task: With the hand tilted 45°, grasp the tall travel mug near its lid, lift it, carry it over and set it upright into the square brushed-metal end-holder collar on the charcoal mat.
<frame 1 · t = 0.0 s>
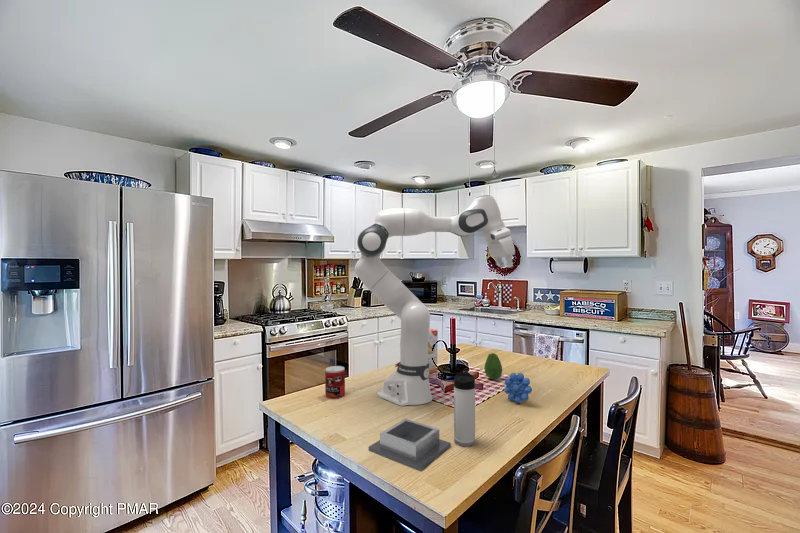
hand: (506, 267, 148), 52 cm above the kitchen island, tool tilted 20°, fingers open, 8 cm apart
travel mug: (464, 442, 111), on the kitchen island
canned food: (335, 395, 150), on the kitchen island
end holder: (410, 448, 107), on the kitchen island
grapes: (519, 403, 141), on the kitchen island
avocado: (493, 379, 170), on the kitchen island
cracker box: (423, 373, 179), on the kitchen island
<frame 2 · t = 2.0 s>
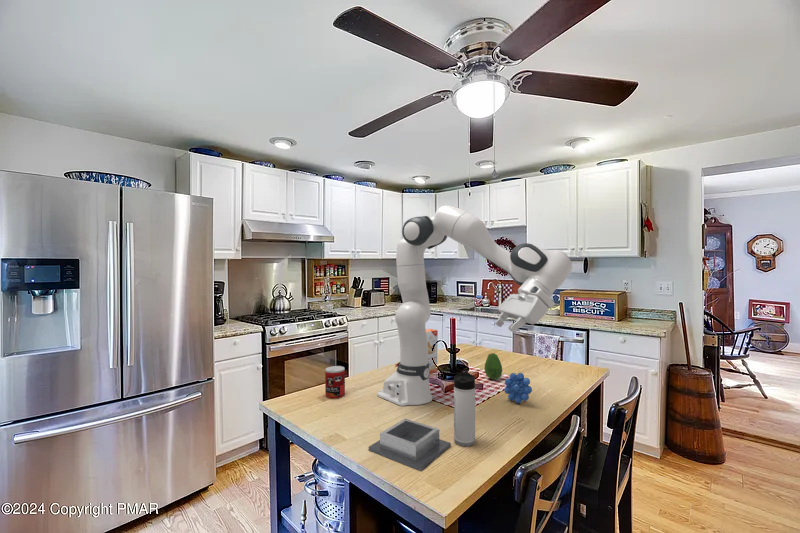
hand: (504, 327, 113), 34 cm above the kitchen island, tool tilted 45°, fingers open, 8 cm apart
nothing on the kitchen island moved.
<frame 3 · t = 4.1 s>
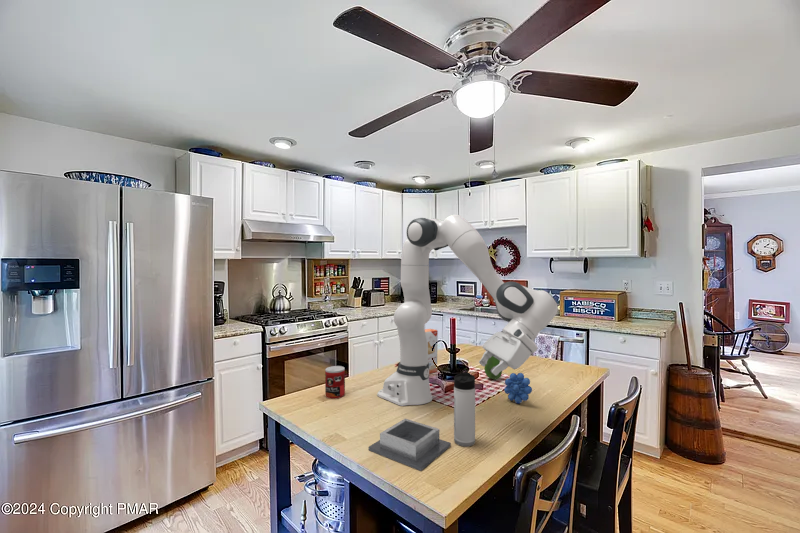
hand: (486, 368, 112), 22 cm above the kitchen island, tool tilted 45°, fingers open, 8 cm apart
nothing on the kitchen island moved.
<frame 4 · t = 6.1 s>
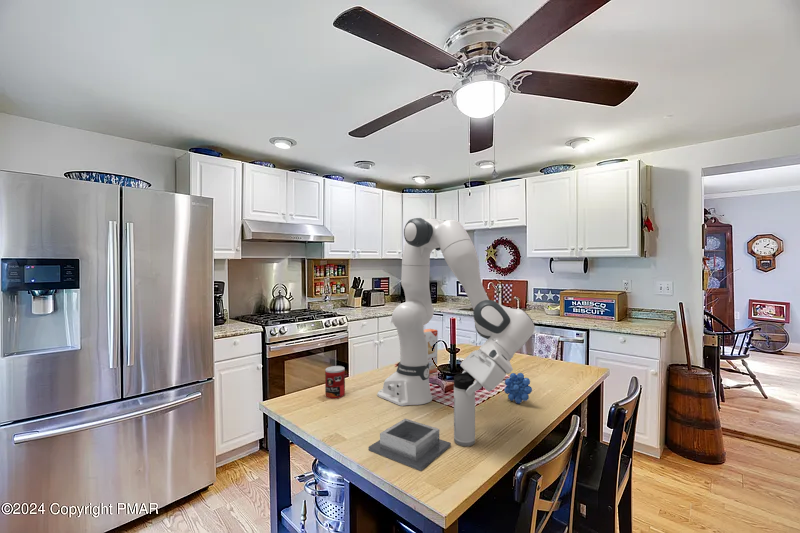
hand: (462, 389, 111), 16 cm above the kitchen island, tool tilted 45°, fingers closed on travel mug, 6 cm apart
travel mug: (464, 442, 111), on the kitchen island, touching gripper
everything else where it was.
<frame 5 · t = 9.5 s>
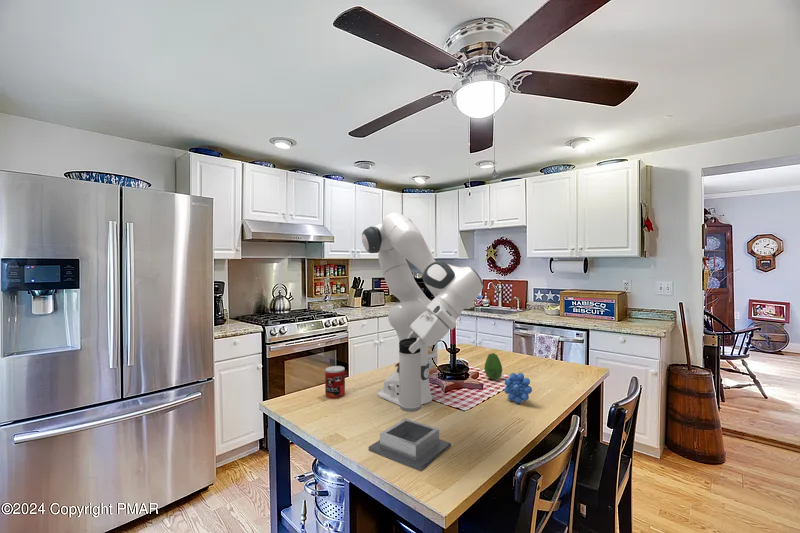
hand: (407, 348, 107), 29 cm above the kitchen island, tool tilted 45°, fingers closed on travel mug, 6 cm apart
travel mug: (410, 408, 108), point 11 cm above the kitchen island, touching gripper
everything else where it was.
when the fingers open (18 cm above the kitchen island, at t = 12.6 s): travel mug stays where it is, resting on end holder.
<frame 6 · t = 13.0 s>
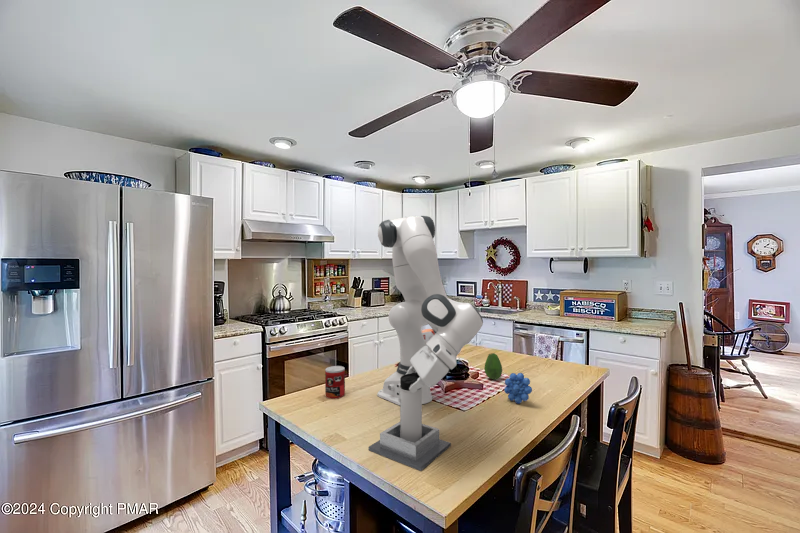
hand: (407, 385, 107), 18 cm above the kitchen island, tool tilted 45°, fingers open, 8 cm apart
travel mug: (411, 444, 108), point 1 cm above the kitchen island, touching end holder
everything else where it was.
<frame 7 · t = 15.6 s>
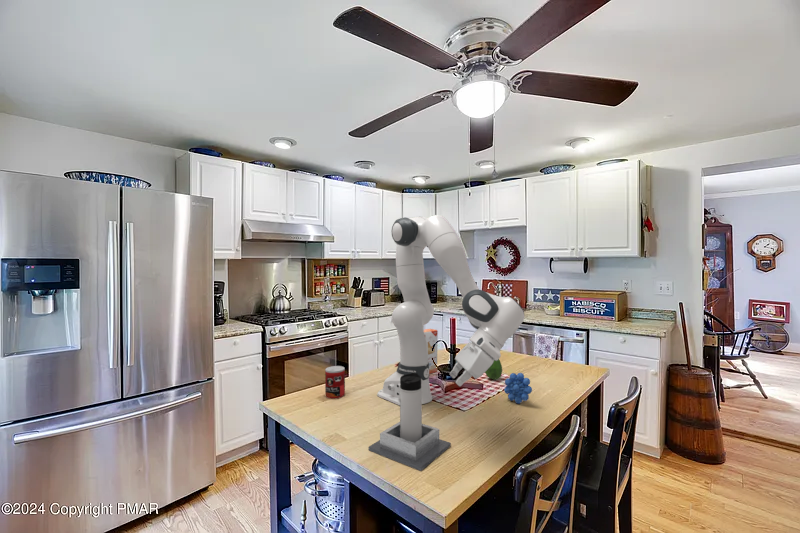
hand: (454, 380, 110), 19 cm above the kitchen island, tool tilted 40°, fingers open, 8 cm apart
nothing on the kitchen island moved.
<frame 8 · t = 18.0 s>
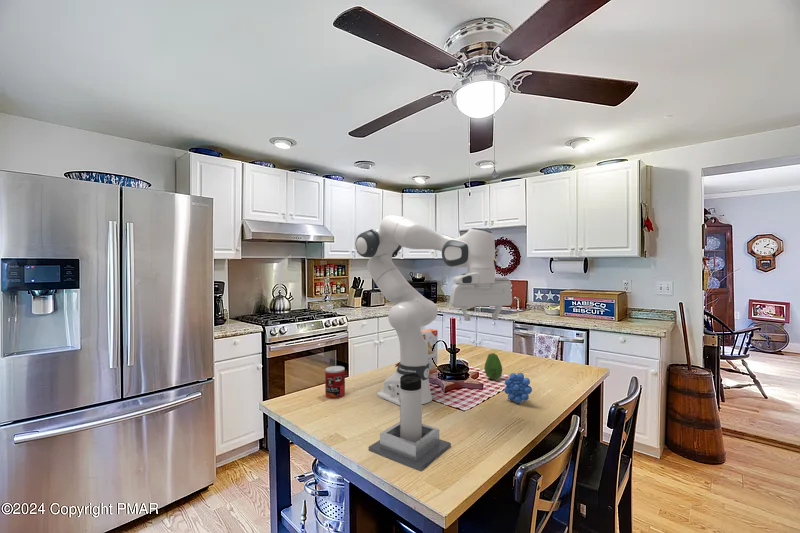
hand: (481, 320, 120), 35 cm above the kitchen island, tool pointing down, fingers open, 8 cm apart
nothing on the kitchen island moved.
at the end: travel mug 0.6 cm off-centre on the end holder, point 0.8 cm above the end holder's base; travel mug tilted 0°; the gripper is holding nothing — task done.
